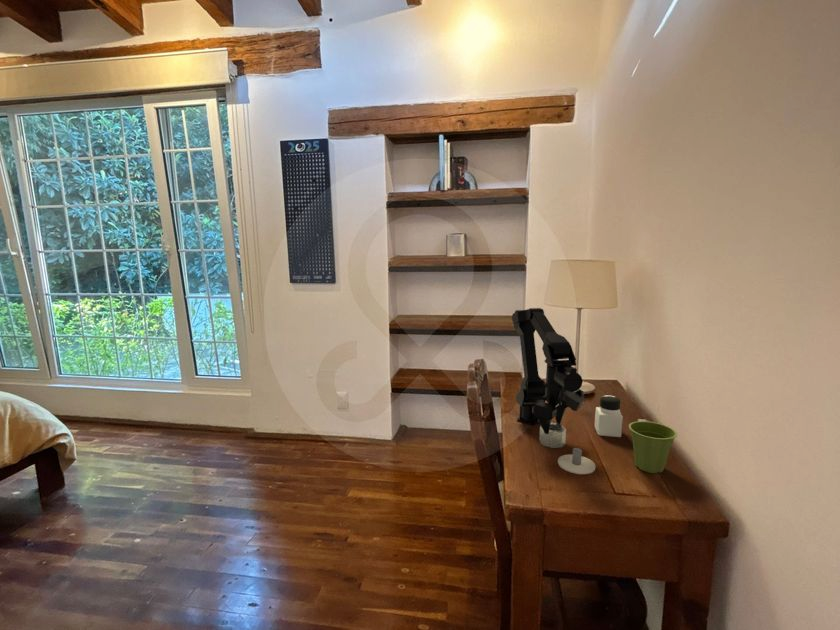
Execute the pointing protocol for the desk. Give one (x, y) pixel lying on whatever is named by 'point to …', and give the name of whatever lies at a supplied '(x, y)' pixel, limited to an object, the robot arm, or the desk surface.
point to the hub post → (576, 463)
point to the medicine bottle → (609, 417)
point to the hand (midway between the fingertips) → (552, 428)
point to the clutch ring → (553, 436)
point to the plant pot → (651, 444)
